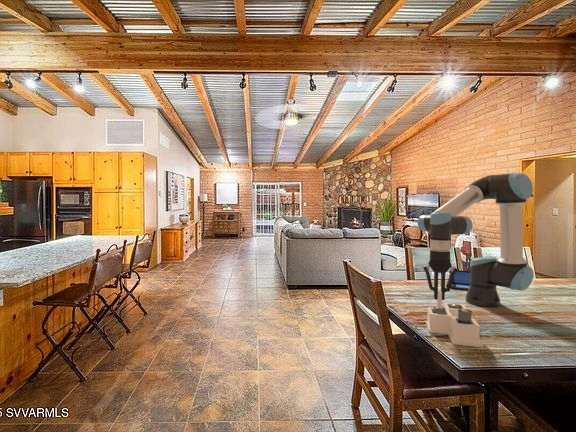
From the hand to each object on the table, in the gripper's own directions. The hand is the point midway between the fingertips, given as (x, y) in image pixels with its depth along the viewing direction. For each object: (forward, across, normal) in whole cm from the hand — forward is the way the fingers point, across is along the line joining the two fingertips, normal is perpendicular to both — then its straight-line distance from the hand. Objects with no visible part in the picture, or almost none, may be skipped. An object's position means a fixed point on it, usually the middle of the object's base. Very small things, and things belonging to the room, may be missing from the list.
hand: (439, 307), depth 129 cm
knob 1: (+7, +8, +9) cm, 14 cm away
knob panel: (+9, +4, 0) cm, 10 cm away
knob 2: (+4, +8, -8) cm, 12 cm away
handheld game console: (+9, +24, +70) cm, 75 cm away
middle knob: (+6, 0, 0) cm, 6 cm away
